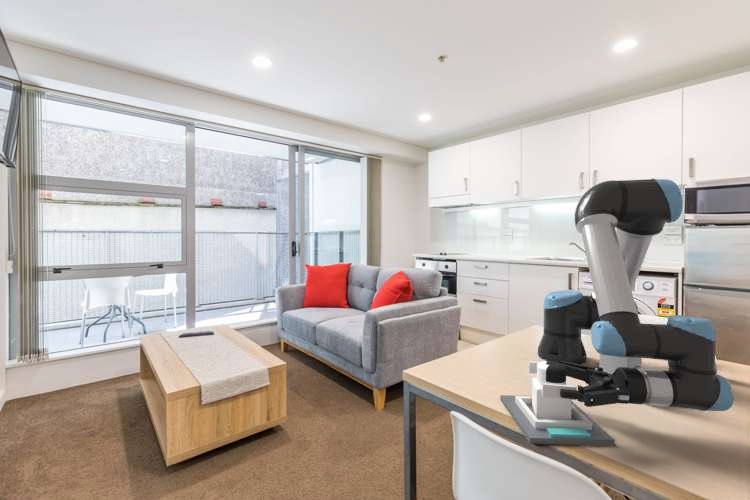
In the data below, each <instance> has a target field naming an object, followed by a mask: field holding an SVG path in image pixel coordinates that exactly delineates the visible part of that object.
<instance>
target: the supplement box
mask: <svg viewBox="0 0 750 500" xmlns="http://www.w3.org/2000/svg"><path fill="white" fill-rule="evenodd" d="M642 360H643V358H633V357H617V356H609V355H602V354H600V353H599V366H598V367H601V368H603V372H607V373H608V374H613V373H614V372H615V370H616V369H617V368H618V367H626V368H636V369H640V368H643V367H642V365H643V363H642V362H643V361H642Z"/></svg>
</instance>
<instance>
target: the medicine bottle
mask: <svg viewBox="0 0 750 500" xmlns="http://www.w3.org/2000/svg"><path fill="white" fill-rule="evenodd" d="M538 362H539V363H538V364H537V374H536V377H532V380H531V382H532V384H531V385H532V386H531V388H532V389H531V396H532V406H533V410H534V413H535V416H536V418H537V419H538V420H571V412H572V402H573V400H571V399H561V398H550V397H543V396H542V383H548V384H560V385H567V376H566V368H565V367H564V366H563V365H561V364H559V363H556V362H552V361H547V360H543V361H538Z"/></svg>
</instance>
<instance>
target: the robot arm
mask: <svg viewBox="0 0 750 500" xmlns="http://www.w3.org/2000/svg"><path fill="white" fill-rule="evenodd" d="M683 203H684V202H683V196H682V191H681V189H680V187H679V186H678V184H677V183H676V182H674V181H673V180H671V179H668V178H667V179H665V178H664V179H662V178H660V179H659V178H649V179H646V178H645V179H627V180H624V179H623V180H614V179H613V180H606V181H601V182H600V183H597V184H595V185H593V186H592V187H591V188H589V189H587V191H585V193H584V194H583V195H582V196H581V198H580V199H579V201H578V203H577V205H576V208H575V213H574V224H575V228H576V231H577V232H578V234H581V237H582V242H583V247H584V251H585V257H586V260H587V261H586V262H587V265H588V270H589V271H588V272H589V275H590V280H591V284H592V292H591V294H590V295H584V294H583V293H582V291H580V290H555V291H551V292H548V293H546V295H545V296H544V302H543V334H542V336H541V340H540V342H539V343H538V344H539V345H538V347H537V355H538V357H539V358H541V359H543V360H544V361H552V362H556V363H559V364H561V365H563V366H564V367H565V368H566V377H568V378H572V379H575V380H579V381H582V382H584V383H585V384H586V385H584V386H582V385H579V384H577V386H576V385H571V384H570V385H569V384H566V385H560V384H548V383H542V396H543V397H550V398H561V399H571V400H572V401H577V402H579V403H583V405H584V406H585V407H586V408H591V407H598V406H607V405H608V406H609V405H615V404H626V405H627V404H628V405H629V404H632V405H646V406H651V407H652V408H657V407H665V408H667V407H668V408H675V409H676V408H677V409H686V410H687V409H688V410H696V411H700V412H725V411H726V412H727V411H728V410H730V408H732V406H733V405H734V401H735V394H734V393H735V392H733V391H732V385H731V383H730V382H729V381H728V380H727V379H726V378H725V377H724V376H722V375H720V374H718V373H717V374H716V372H715V363H716V349H717V347H716V345H717V344H716V343H717V337H716V329H715V324H714V322H713V321H712V320H710V319H708V318H704V317H700V316H693V315H683V314H682V315H669V316H668V318H667V322H666V324H664V323H663V324H660V323H659V324H658V323H643V322H642V323H641V320H640V317H639V314H638V313H639V308H638V305H637V302H636V301H635V299H634V295H633V289H634V287H635V284H636V281H637V279H638V276H639V273H640V271H641V268H642V266H643V263H644V260H645V259H646V255H647V252H648V249H649V247H650V245H651V242H652V239H653V237H654V236H657V235H659V234H660V233H662V231H663V229H664V227H665V224H666V223H667V224H671V223H674V222H676V221H678V220H679V218H680V217H681V215H682V212H683ZM582 330H586V331H587V330H588V331H590V335H591V336H590V340H591V344H592V347H593V348H594V350H595V351H596V352H597V353H598V354H599V355H600V354H602V355H609V356H617V357H633V358H642V359H650V360H661V361H662V360H663V361H667V366H668V369H667V370H665V369H655V368H654V369H653V368H644V367H642V368H640V369H636V368H626V367H618V368H617V369H616V370H615V372H614V373H613V374H608V373H607V372H603V368H601V367H599V366H591V365H585V364H586V363H587V361H588V360H587V358H588V356H587V351H586V349H585V344H584V342H583V339H582ZM539 362H540V361H528V374H534V375H535V374H536V375H537V364H538V363H539Z"/></svg>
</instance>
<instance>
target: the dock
mask: <svg viewBox="0 0 750 500" xmlns="http://www.w3.org/2000/svg"><path fill="white" fill-rule="evenodd" d="M499 398H500V402H502V405H503V406H504V407H505V409H506V410H507V412H508V413H509V415H510V416H511V419H513V420H514V422H515V424H516V425H517V427H518V428H519V430H520V432H521V433H522V434H523V436H524V437H525V439H526V440H527V441H528V443H529V444H530V445H532V444H537V445H574V446H575V445H577V446H579V445H581V446H615V445H616V444H615V442H616V440H615V438H613V436H611V435H610V434H609V433H608V432H607V431H606V430H604V428H603V427H602V426H600V425H599V424H598V423H597V422H596V421H595V420H594V419H592V418H591V417H590V416H589V415H588V414H587V413H586V412H585V411H583V410H582V409H581V408H580V407H579V406H578V405H577V404H576V403H575V402H574V401H572V412H571V420H538V419H537V418H536V416H535V413H534V410H533V406H532V395H508V394H507V395H505V394H504V395H500V397H499Z"/></svg>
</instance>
